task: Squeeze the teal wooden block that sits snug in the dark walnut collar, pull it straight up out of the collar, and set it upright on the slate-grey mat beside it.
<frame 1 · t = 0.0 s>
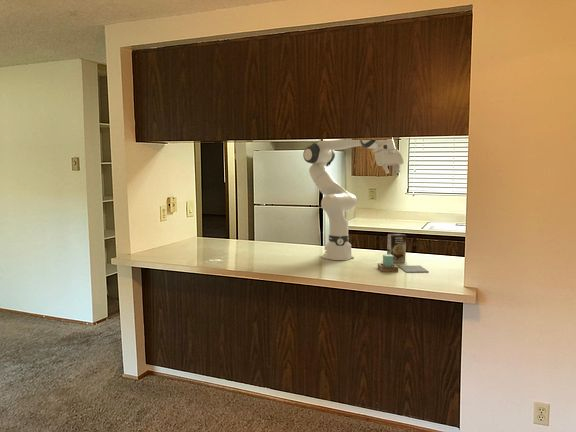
hand: (393, 173, 261), 52 cm above the counter, tool tilted 20°, fingers open, 8 cm apart
walnut collar: (387, 269, 265), on the counter
teal block: (388, 262, 264), in the walnut collar
coffee box: (396, 262, 285), on the counter
slate mat: (413, 269, 265), on the counter
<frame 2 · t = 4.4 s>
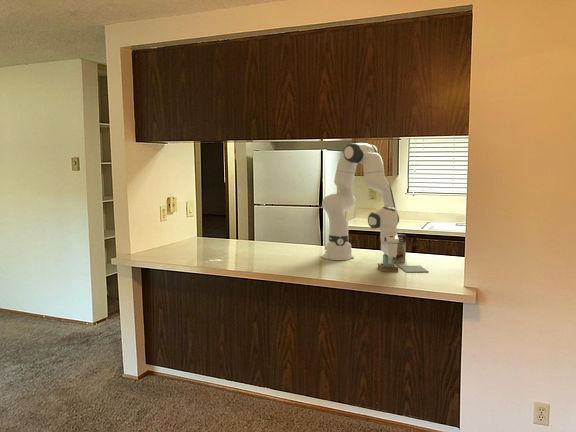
hand: (388, 262, 264), 4 cm above the counter, tool pointing down, fingers closed on teal block, 4 cm apart
teal block: (388, 262, 264), in the walnut collar, touching gripper
everything else where it was.
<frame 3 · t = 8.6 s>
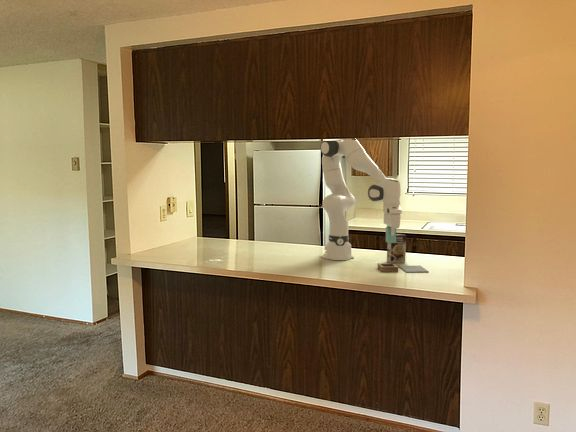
hand: (390, 234, 262), 19 cm above the counter, tool pointing down, fingers closed on teal block, 4 cm apart
teal block: (390, 234, 262), point 19 cm above the counter, touching gripper
everything else where it was.
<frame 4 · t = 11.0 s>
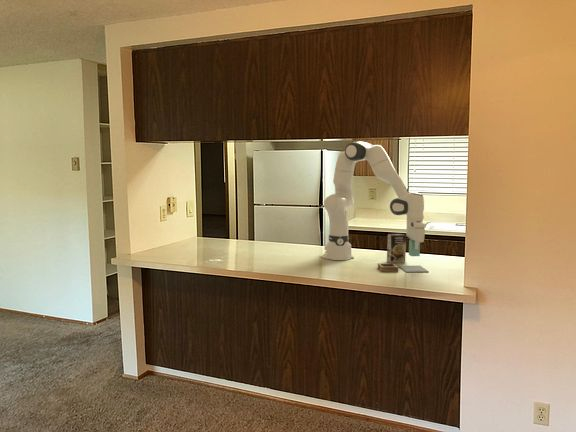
hand: (414, 247, 264), 12 cm above the counter, tool pointing down, fingers closed on teal block, 4 cm apart
teal block: (414, 248, 264), point 12 cm above the counter, touching gripper
everything else where it was.
when the fingers open (6 cm above the counter, at t = 13.1 s): teal block drops 1 cm, resting on slate mat.
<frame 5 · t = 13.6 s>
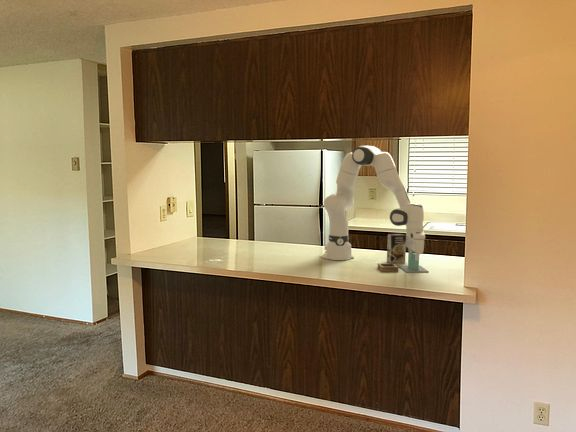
hand: (413, 258, 265), 6 cm above the counter, tool pointing down, fingers open, 8 cm apart
teal block: (413, 261, 265), on the slate mat, point 5 cm above the counter
everything else where it was.
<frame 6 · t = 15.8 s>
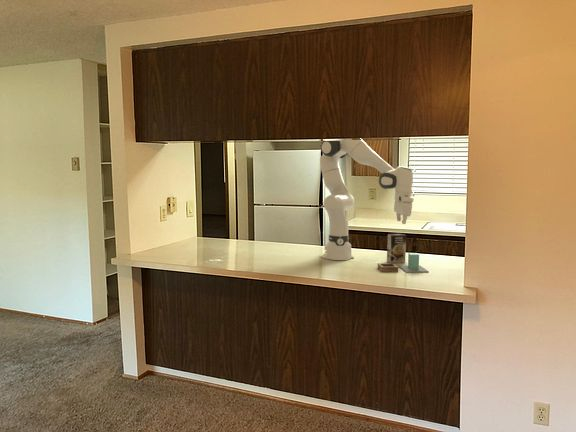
hand: (401, 222, 264), 25 cm above the counter, tool pointing down, fingers open, 8 cm apart
nothing on the counter moved.
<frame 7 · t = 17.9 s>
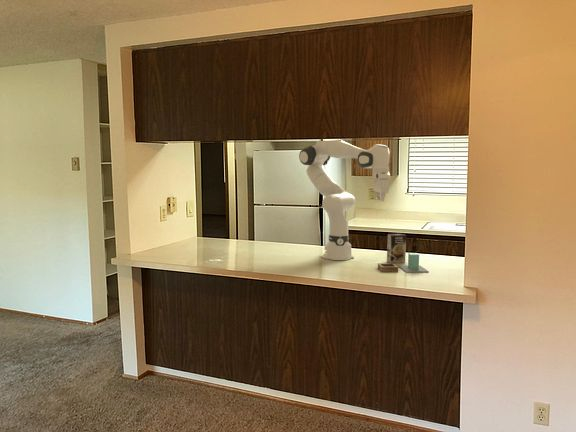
hand: (380, 200, 265), 37 cm above the counter, tool pointing down, fingers open, 8 cm apart
nothing on the counter moved.
at the end: teal block inside the target area on the slate mat (0.1 cm from its centre), point 4.6 cm above the slate mat's base; teal block tilted 0°; the gripper is holding nothing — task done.
